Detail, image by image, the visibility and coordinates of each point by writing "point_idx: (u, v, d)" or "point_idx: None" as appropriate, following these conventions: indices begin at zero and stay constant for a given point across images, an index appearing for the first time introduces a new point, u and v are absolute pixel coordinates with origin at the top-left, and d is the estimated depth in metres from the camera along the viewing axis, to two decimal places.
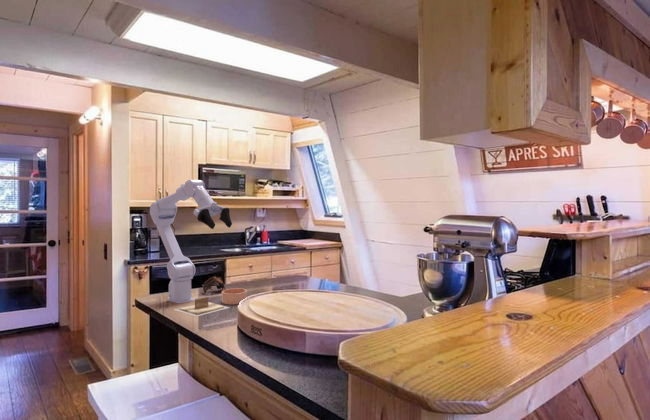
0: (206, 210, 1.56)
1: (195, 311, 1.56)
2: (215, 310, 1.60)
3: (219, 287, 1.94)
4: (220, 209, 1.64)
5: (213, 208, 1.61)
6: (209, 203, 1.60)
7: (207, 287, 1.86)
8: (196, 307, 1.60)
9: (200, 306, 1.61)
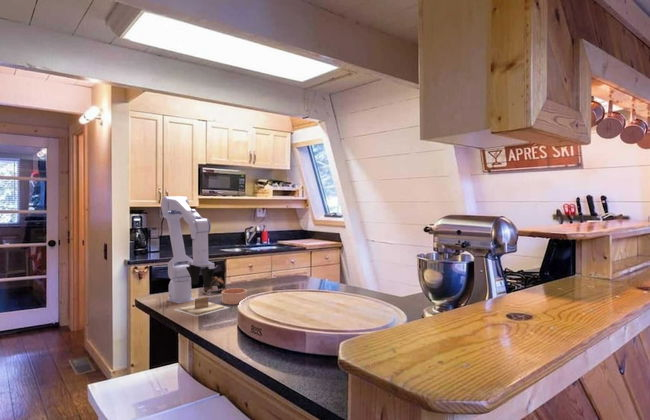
0: (188, 269, 1.63)
1: (195, 311, 1.56)
2: (215, 310, 1.60)
3: (220, 287, 1.94)
4: None
5: None
6: (193, 260, 1.60)
7: (208, 287, 1.86)
8: (196, 307, 1.60)
9: (200, 306, 1.61)
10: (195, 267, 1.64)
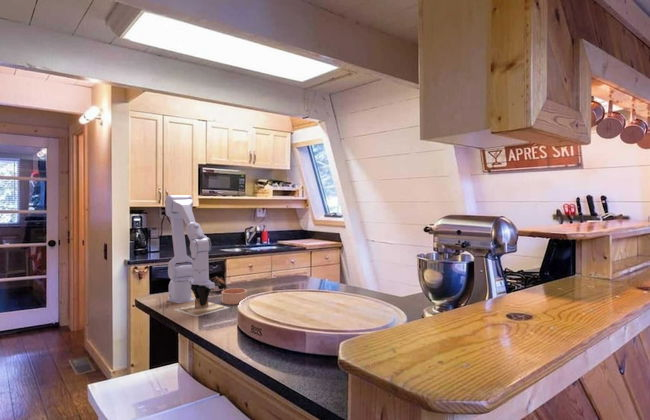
0: (192, 289, 1.61)
1: (195, 311, 1.56)
2: (215, 310, 1.60)
3: (221, 287, 1.94)
4: (205, 284, 1.59)
5: None
6: (193, 279, 1.61)
7: None
8: (196, 307, 1.60)
9: (200, 306, 1.61)
10: (200, 287, 1.63)
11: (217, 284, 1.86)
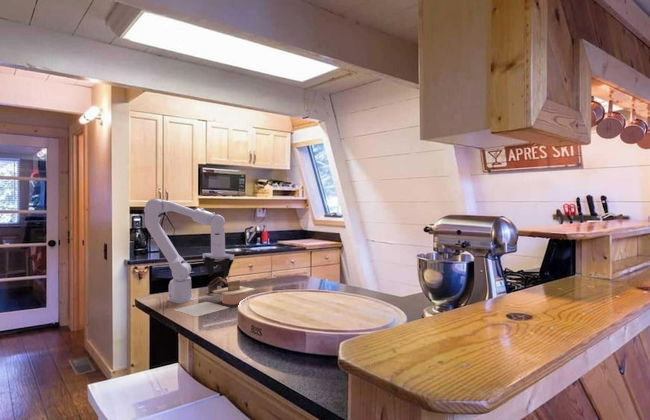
0: (205, 261, 1.77)
1: (230, 293, 1.67)
2: (215, 310, 1.60)
3: None
4: (224, 256, 1.76)
5: None
6: (212, 252, 1.76)
7: (213, 288, 1.84)
8: (229, 289, 1.71)
9: (233, 289, 1.72)
10: (211, 259, 1.79)
11: (221, 284, 1.85)
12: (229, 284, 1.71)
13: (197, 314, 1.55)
